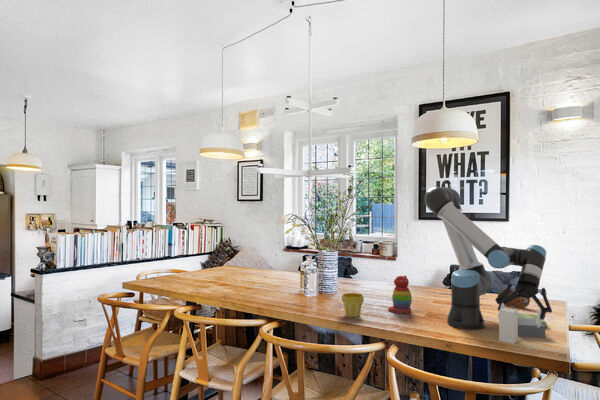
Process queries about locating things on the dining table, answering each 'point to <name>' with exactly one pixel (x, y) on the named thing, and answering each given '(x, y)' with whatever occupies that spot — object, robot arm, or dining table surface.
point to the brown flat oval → (517, 301)
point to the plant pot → (352, 303)
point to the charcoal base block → (530, 328)
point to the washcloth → (530, 317)
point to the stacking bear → (401, 296)
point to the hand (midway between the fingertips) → (518, 322)
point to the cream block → (508, 325)
